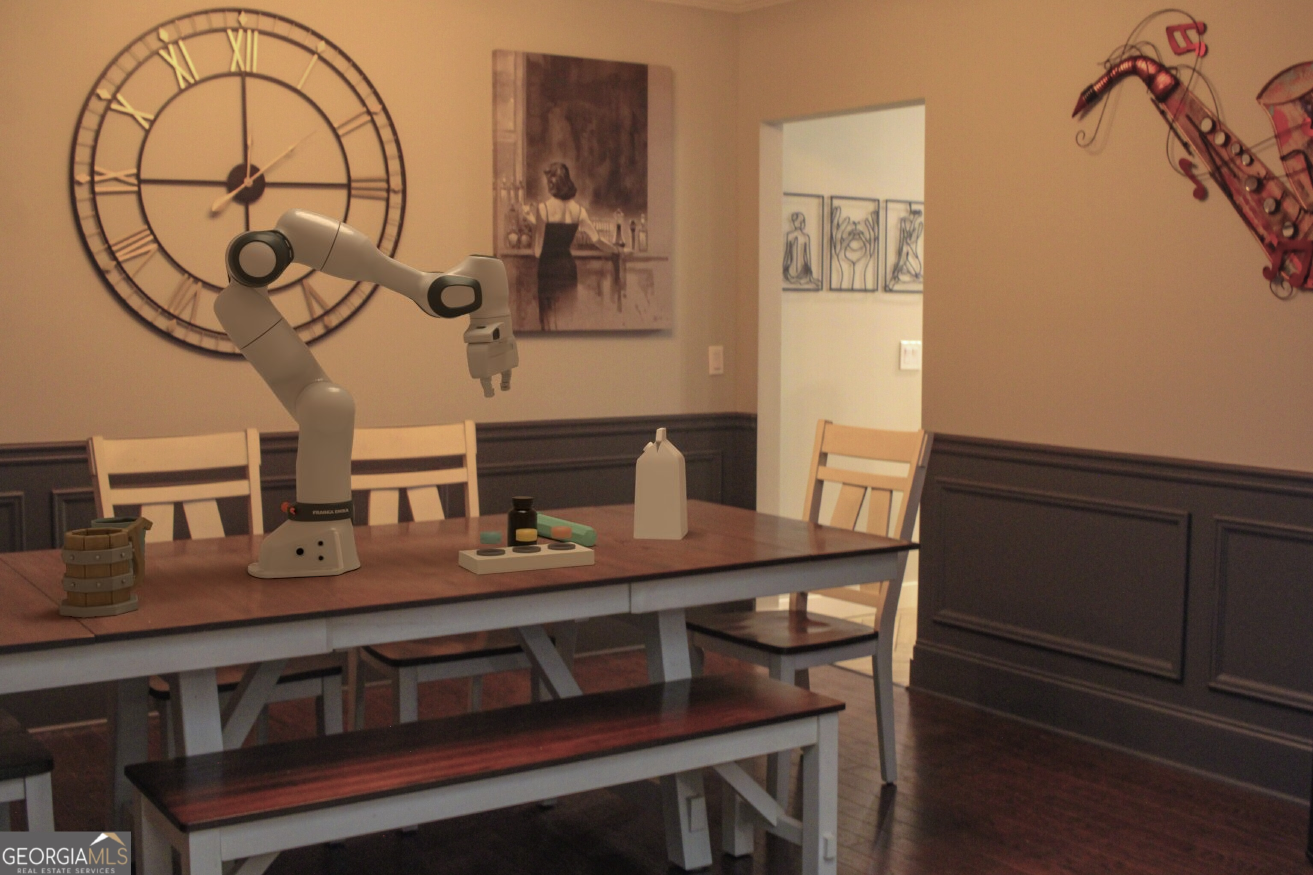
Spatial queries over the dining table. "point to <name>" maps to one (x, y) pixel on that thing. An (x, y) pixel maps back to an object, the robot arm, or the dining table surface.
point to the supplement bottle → (520, 520)
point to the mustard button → (526, 534)
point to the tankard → (102, 570)
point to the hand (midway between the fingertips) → (497, 393)
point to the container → (579, 532)
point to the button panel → (525, 558)
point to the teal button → (490, 537)
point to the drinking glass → (121, 523)
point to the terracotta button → (561, 532)
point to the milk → (660, 492)
